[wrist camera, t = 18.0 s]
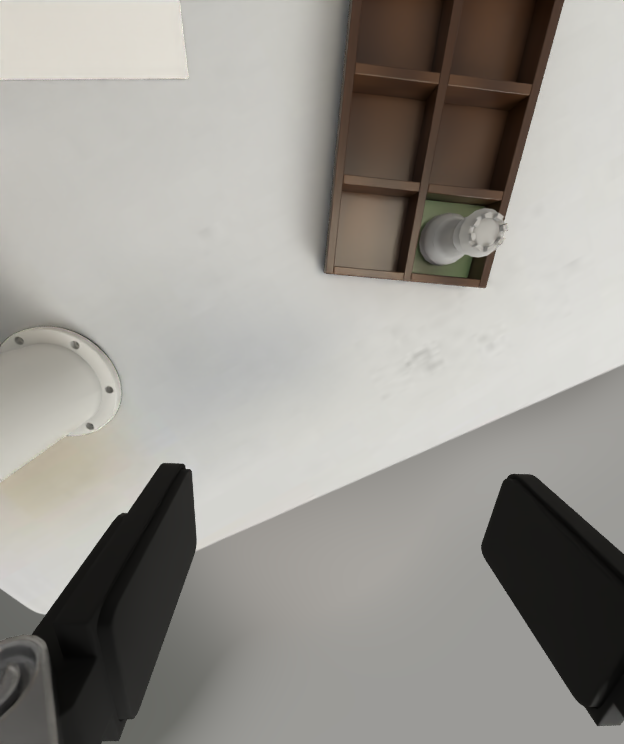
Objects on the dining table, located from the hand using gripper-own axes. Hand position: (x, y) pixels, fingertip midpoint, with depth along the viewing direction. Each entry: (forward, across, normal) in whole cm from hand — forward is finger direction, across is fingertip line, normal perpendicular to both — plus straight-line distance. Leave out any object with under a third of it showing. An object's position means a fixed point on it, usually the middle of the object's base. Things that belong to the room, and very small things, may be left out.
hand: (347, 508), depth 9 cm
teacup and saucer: (+25, +22, -30) cm, 45 cm away
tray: (+24, -8, -17) cm, 31 cm away
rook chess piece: (+23, -12, -10) cm, 28 cm away
